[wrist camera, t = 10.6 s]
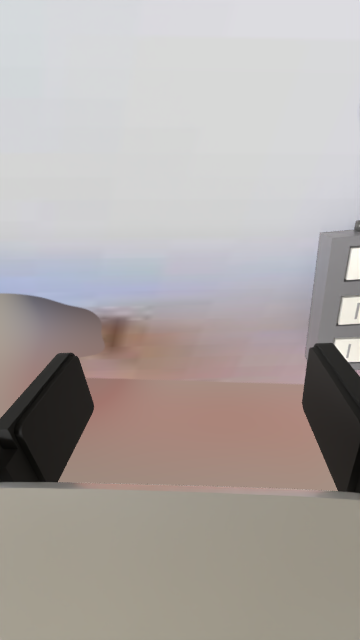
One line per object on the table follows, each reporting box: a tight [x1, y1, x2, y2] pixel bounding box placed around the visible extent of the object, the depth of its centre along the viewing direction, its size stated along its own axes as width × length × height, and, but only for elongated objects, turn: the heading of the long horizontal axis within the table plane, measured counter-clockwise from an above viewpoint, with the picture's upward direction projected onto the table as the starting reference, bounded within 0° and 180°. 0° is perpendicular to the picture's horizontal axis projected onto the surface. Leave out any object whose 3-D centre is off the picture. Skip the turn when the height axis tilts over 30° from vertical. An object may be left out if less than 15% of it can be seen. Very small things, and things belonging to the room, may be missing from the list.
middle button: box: [337, 295, 360, 325], centre depth 37 cm, size 4×4×3 cm
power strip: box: [305, 220, 360, 370], centre depth 38 cm, size 21×9×4 cm, turn 6°
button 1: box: [333, 337, 360, 362], centre depth 40 cm, size 4×4×3 cm
